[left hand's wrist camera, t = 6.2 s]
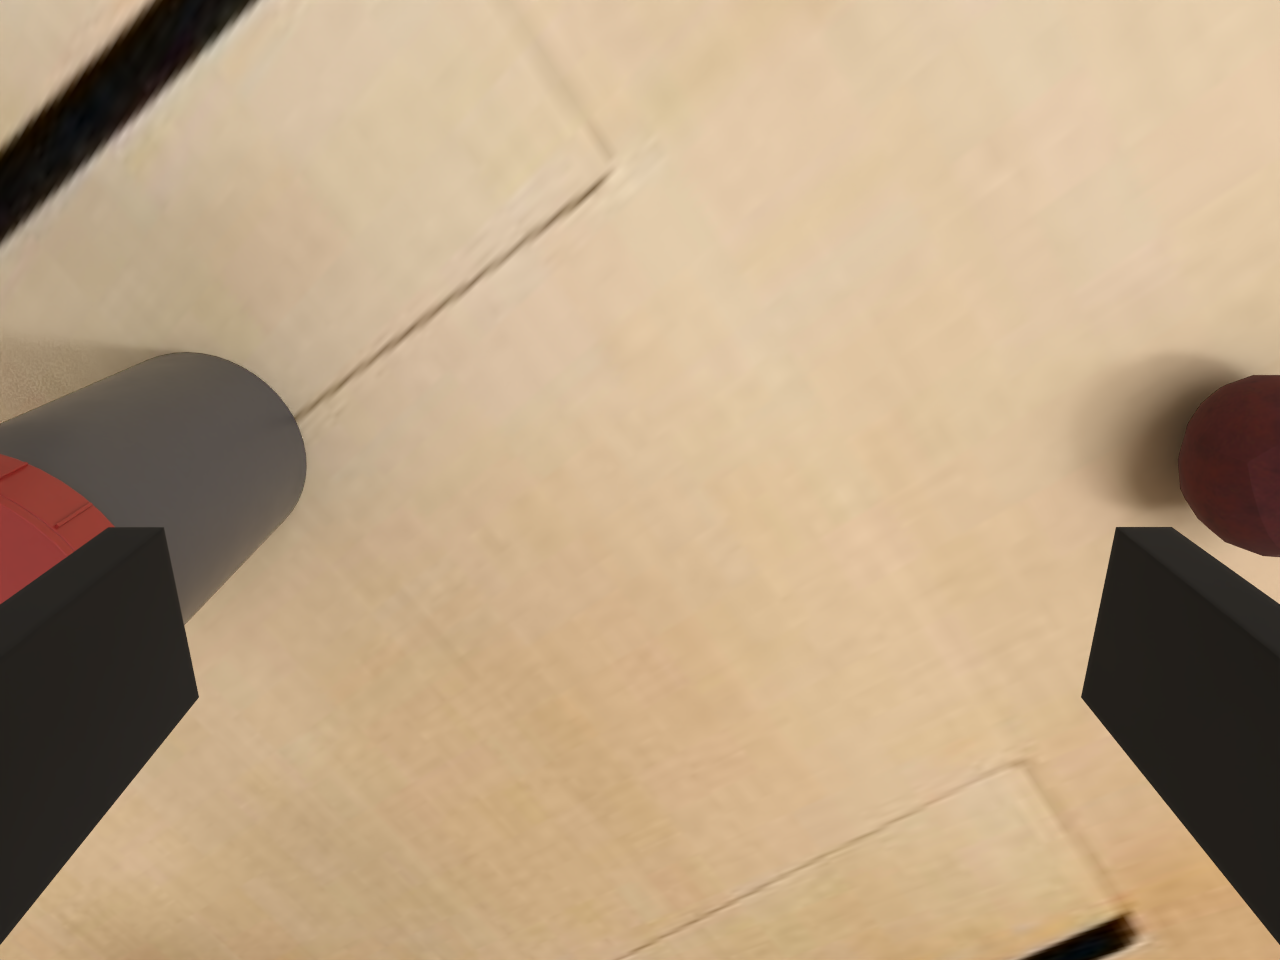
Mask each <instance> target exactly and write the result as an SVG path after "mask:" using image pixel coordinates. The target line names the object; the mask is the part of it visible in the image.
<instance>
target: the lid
mask: <svg viewBox="0 0 1280 960" xmlns="http://www.w3.org/2000/svg"><path fill="white" fill-rule="evenodd" d="M108 527H115V526H114V525H113V524H112V523H111V522H110V521H109V520H108V519H107V518H106V517H105V516H104V515H103V513H102V512H101V511H99V510H98V509H97V508H96V507H95V506H94V505H93V504H92V503H91V502H89V501H88V500H87V499H86V498H84V497H83V496H82V495H81V494H79V493H78V492H76V491H75V490H74V489H72V488H71V487H69V486H68V485H66V484H65V483H64V482H62V481H60V480H59V479H57V478H55V477H53V476H51V475H50V474H48V473H46V472H44V471H43V470H41V469H39V468H36V467H34V466H32V465H29V464H28V463H27V462H22V461H20V460H18V459H15V458H12V457H9V456H5V455H2V454H0V604H2V603H3V602H4V601H6V600H7V599H9V598H10V597H11V596H13V595H14V594H16V593H17V592H18V591H20V590H21V589H23V588H24V587H25V586H27V585H28V584H30V583H31V582H32V581H34V580H35V579H37V578H38V577H39V576H41V575H42V574H44V573H45V572H46V571H48V570H49V569H51V568H52V567H53V566H55V565H56V564H58V563H59V562H60V561H62V560H63V559H64V558H66V557H67V556H69V555H70V554H71V553H73V552H74V551H76V550H77V549H78V548H80V547H81V546H83V545H84V544H85V543H87V542H88V541H90V540H91V539H92V538H94V537H95V536H97V535H98V534H99V533H101V532H102V531H104V530H105V529H106V528H108Z"/></svg>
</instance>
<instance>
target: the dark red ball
mask: <svg viewBox="0 0 1280 960" xmlns="http://www.w3.org/2000/svg"><path fill="white" fill-rule="evenodd" d="M1178 466H1179V479H1180V489H1181V491H1182V493H1183V495H1184V497H1185V499H1186V501H1187V502H1188V504H1189V506H1190V507H1191V509H1192V510H1193V512H1194V513H1195V515H1196V516H1197V518H1198V519H1199V520H1200V521H1201V522H1202V523H1204V524H1205V525H1206V526H1207V527H1208V528H1209V529H1210V530H1211V531H1213V532H1214V533H1215V534H1216V535H1217V536H1219V537H1220V538H1221V539H1222V540H1223V541H1225V542H1227V543H1229V544H1232V545H1235V546H1237V547H1240V548H1243V549H1245V550H1248V551H1251V552H1254V553H1256V554H1259V555H1262V556H1271V557H1280V375H1253V376H1250V377H1247V378H1244V379H1241V380H1239V381H1236V382H1233V383H1230V384H1227V385H1225V386H1223V387H1221V388H1219V389H1218V390H1217V391H1216V392H1214V393H1213V394H1212V395H1211V396H1209V397H1208V398H1207V399H1206V400H1205V401H1203V402H1202V403H1201V404H1200V406H1199V407H1198V409H1197V410H1196V412H1195V413H1194V415H1193V416H1192V418H1191V420H1190V421H1189V423H1188V425H1187V429H1186V432H1185V436H1184V439H1183V443H1182V446H1181V450H1180V454H1179V458H1178Z"/></svg>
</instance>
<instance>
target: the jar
mask: <svg viewBox="0 0 1280 960" xmlns="http://www.w3.org/2000/svg"><path fill="white" fill-rule="evenodd" d="M0 454H2V455H5V456H9V457H12V458H15V459H18V460H20V461H22V462H27V463H28V464H29V465H32V466H34V467H36V468H39V469H41V470H43V471H44V472H46V473H48V474H50V475H51V476H53V477H55V478H57V479H59V480H60V481H62V482H64V483H65V484H66V485H68V486H69V487H71V488H72V489H74V490H75V491H76V492H78V493H79V494H81V495H82V496H83V497H84V498H86V499H87V500H88V501H89V502H91V503H92V504H93V505H94V506H95V507H96V508H97V509H98V510H99V511H101V512H102V513H103V515H104V516H105V517H106V518H107V519H108V520H109V521H110V522H111V523H112V524H113V525H114V526H115V527H164V530H165V535H166V540H167V545H168V550H169V554H170V559H171V564H172V569H173V574H174V579H175V584H176V588H177V593H178V598H179V603H180V608H181V613H182V618H183V623H184V625H185V624H186V623H187V622H188V621H189V620H190V619H191V618H192V617H193V616H194V615H195V613H196V612H197V611H198V610H199V609H200V608H201V607H202V606H203V605H204V604H205V603H206V602H207V601H208V600H209V599H210V598H211V597H212V596H213V595H214V594H215V592H216V591H217V590H218V589H219V588H220V587H221V586H222V585H223V584H224V583H225V582H226V581H227V580H228V579H229V578H230V577H231V576H232V575H233V574H234V573H235V572H236V570H237V569H238V568H239V567H240V566H241V565H242V564H243V563H244V562H245V561H246V560H247V559H248V558H249V557H250V556H251V555H252V554H253V553H254V552H255V551H256V550H257V548H258V547H259V546H260V545H261V544H262V543H263V542H264V541H265V540H266V539H267V538H268V537H269V536H270V535H271V534H272V533H273V532H274V531H275V530H276V529H277V527H278V526H279V525H280V524H281V523H282V522H283V521H284V520H285V519H286V518H287V517H288V515H289V514H290V513H291V512H292V510H293V509H294V507H295V505H296V504H297V502H298V500H299V498H300V495H301V493H302V490H303V486H304V482H305V476H306V453H305V448H304V443H303V439H302V436H301V433H300V430H299V428H298V426H297V424H296V421H295V419H294V417H293V416H292V414H291V412H290V411H289V409H288V408H287V406H286V405H285V403H284V402H283V401H282V400H281V398H280V397H279V396H278V395H277V394H276V393H275V392H274V391H273V390H272V389H271V388H270V387H269V386H268V385H267V384H266V383H265V382H263V381H262V380H261V379H260V378H258V377H257V376H256V375H254V374H253V373H251V372H249V371H248V370H246V369H245V368H243V367H241V366H239V365H236V364H234V363H232V362H230V361H227V360H224V359H221V358H218V357H215V356H210V355H206V354H200V353H172V354H167V355H161V356H158V357H155V358H152V359H149V360H147V361H144V362H142V363H140V364H137V365H135V366H133V367H130V368H128V369H126V370H123V371H121V372H119V373H116V374H114V375H112V376H110V377H107V378H105V379H103V380H100V381H98V382H96V383H93V384H91V385H89V386H86V387H84V388H82V389H79V390H77V391H75V392H72V393H70V394H68V395H66V396H63V397H61V398H59V399H56V400H54V401H52V402H49V403H47V404H45V405H42V406H40V407H38V408H35V409H33V410H31V411H28V412H26V413H24V414H22V415H19V416H17V417H15V418H12V419H10V420H8V421H5V422H3V423H1V424H0Z"/></svg>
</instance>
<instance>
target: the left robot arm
mask: <svg viewBox="0 0 1280 960" xmlns="http://www.w3.org/2000/svg"><path fill="white" fill-rule="evenodd" d="M198 698H199V696H198V691H197V686H196V681H195V676H194V671H193V666H192V661H191V657H190V652H189V647H188V642H187V637H186V632H185V627H184V623H183V618H182V613H181V608H180V603H179V598H178V593H177V588H176V584H175V579H174V574H173V569H172V564H171V559H170V554H169V550H168V545H167V540H166V535H165V530H164V527H108V528H106V529H105V530H104V531H102V532H101V533H99V534H98V535H97V536H95V537H94V538H92V539H91V540H90V541H88V542H87V543H85V544H84V545H83V546H81V547H80V548H78V549H77V550H76V551H74V552H73V553H71V554H70V555H69V556H67V557H66V558H64V559H63V560H62V561H60V562H59V563H58V564H56V565H55V566H53V567H52V568H51V569H49V570H48V571H46V572H45V573H44V574H42V575H41V576H39V577H38V578H37V579H35V580H34V581H32V582H31V583H30V584H28V585H27V586H25V587H24V588H23V589H21V590H20V591H18V592H17V593H16V594H14V595H13V596H11V597H10V598H9V599H7V600H6V601H4V602H3V603H2V604H0V944H1V943H2V942H3V941H4V939H5V938H6V937H7V936H8V934H9V933H10V932H11V931H12V930H13V928H14V927H15V926H16V925H17V923H18V922H19V921H20V920H21V918H22V917H23V916H24V915H25V913H26V912H27V911H28V910H29V908H30V907H31V906H32V905H33V903H34V902H35V901H36V900H37V898H38V897H39V896H40V895H41V893H42V892H43V891H44V890H45V888H46V887H47V886H48V885H49V883H50V882H51V881H52V880H53V878H54V877H55V876H56V875H57V873H58V872H59V871H60V870H61V868H62V867H63V866H64V865H65V863H66V862H67V861H68V860H69V858H70V857H71V856H72V855H73V853H74V852H75V851H76V850H77V848H78V847H79V846H80V845H81V844H82V842H83V841H84V840H85V839H86V837H87V836H88V835H89V834H90V832H91V831H92V830H93V829H94V827H95V826H96V825H97V824H98V822H99V821H100V820H101V819H102V817H103V816H104V815H105V814H106V812H107V811H108V810H109V809H110V807H111V806H112V805H113V804H114V802H115V801H116V800H117V799H118V797H119V796H120V795H121V794H122V792H123V791H124V790H125V789H126V787H127V786H128V785H129V784H130V782H131V781H132V780H133V779H134V777H135V776H136V775H137V774H138V772H139V771H140V770H141V769H142V767H143V766H144V765H145V764H146V762H147V761H148V760H149V759H150V758H151V756H152V755H153V754H154V753H155V751H156V750H157V749H158V748H159V746H160V745H161V744H162V743H163V741H164V740H165V739H166V738H167V736H168V735H169V734H170V733H171V731H172V730H173V729H174V728H175V726H176V725H177V724H178V723H179V721H180V720H181V719H182V718H183V716H184V715H185V714H186V713H187V711H188V710H189V709H190V708H191V706H192V705H193V704H194V703H195V701H196V700H197V699H198ZM1081 698H1082V699H1083V700H1084V701H1085V703H1086V704H1087V705H1088V706H1089V708H1090V709H1091V710H1092V711H1093V713H1094V714H1095V715H1096V716H1097V718H1098V719H1099V720H1100V721H1101V723H1102V724H1103V725H1104V726H1105V728H1106V729H1107V730H1108V731H1109V733H1110V734H1111V735H1112V736H1113V738H1114V739H1115V740H1116V741H1117V743H1118V744H1119V745H1120V746H1121V748H1122V749H1123V750H1124V751H1125V753H1126V754H1127V755H1128V756H1129V758H1130V759H1131V760H1132V761H1133V762H1134V764H1135V765H1136V766H1137V767H1138V769H1139V770H1140V771H1141V772H1142V774H1143V775H1144V776H1145V777H1146V779H1147V780H1148V781H1149V782H1150V784H1151V785H1152V786H1153V787H1154V789H1155V790H1156V791H1157V792H1158V794H1159V795H1160V796H1161V797H1162V799H1163V800H1164V801H1165V802H1166V804H1167V805H1168V806H1169V807H1170V809H1171V810H1172V811H1173V812H1174V814H1175V815H1176V816H1177V817H1178V819H1179V820H1180V821H1181V822H1182V824H1183V825H1184V826H1185V827H1186V829H1187V830H1188V831H1189V832H1190V834H1191V835H1192V836H1193V837H1194V839H1195V840H1196V841H1197V842H1198V844H1199V845H1200V846H1201V847H1202V848H1203V850H1204V851H1205V852H1206V853H1207V855H1208V856H1209V857H1210V858H1211V860H1212V861H1213V862H1214V863H1215V865H1216V866H1217V867H1218V868H1219V870H1220V871H1221V872H1222V873H1223V875H1224V876H1225V877H1226V878H1227V880H1228V881H1229V882H1230V883H1231V885H1232V886H1233V887H1234V888H1235V890H1236V891H1237V892H1238V893H1239V895H1240V896H1241V897H1242V898H1243V900H1244V901H1245V902H1246V903H1247V905H1248V906H1249V907H1250V908H1251V910H1252V911H1253V912H1254V913H1255V915H1256V916H1257V917H1258V918H1259V920H1260V921H1261V922H1262V923H1263V925H1264V926H1265V927H1266V928H1267V930H1268V931H1269V932H1270V933H1271V934H1272V936H1273V937H1274V938H1275V939H1276V941H1277V942H1278V943H1279V944H1280V604H1278V603H1277V602H1276V601H1274V600H1273V599H1271V598H1270V597H1269V596H1267V595H1266V594H1264V593H1263V592H1262V591H1260V590H1259V589H1257V588H1256V587H1255V586H1253V585H1252V584H1250V583H1249V582H1248V581H1246V580H1245V579H1243V578H1242V577H1241V576H1239V575H1238V574H1236V573H1235V572H1234V571H1232V570H1231V569H1229V568H1228V567H1227V566H1225V565H1224V564H1222V563H1221V562H1220V561H1218V560H1217V559H1215V558H1214V557H1213V556H1211V555H1210V554H1208V553H1207V552H1206V551H1204V550H1203V549H1201V548H1200V547H1199V546H1197V545H1196V544H1194V543H1193V542H1192V541H1190V540H1189V539H1188V538H1186V537H1185V536H1183V535H1182V534H1180V533H1179V532H1178V531H1176V530H1175V529H1174V528H1172V527H1116V530H1115V535H1114V540H1113V545H1112V550H1111V554H1110V559H1109V564H1108V569H1107V574H1106V579H1105V584H1104V588H1103V593H1102V598H1101V603H1100V608H1099V613H1098V618H1097V623H1096V627H1095V632H1094V637H1093V642H1092V647H1091V652H1090V657H1089V661H1088V666H1087V671H1086V676H1085V681H1084V686H1083V691H1082V696H1081Z"/></svg>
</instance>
